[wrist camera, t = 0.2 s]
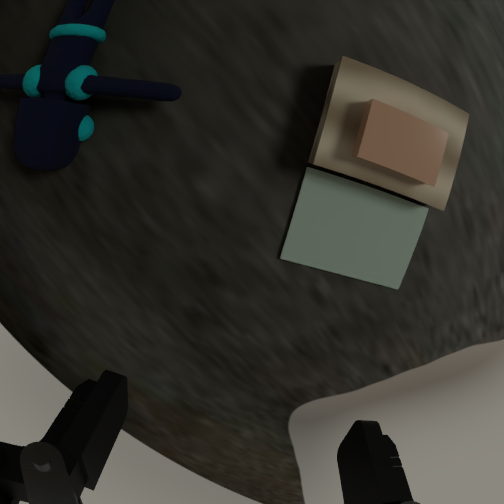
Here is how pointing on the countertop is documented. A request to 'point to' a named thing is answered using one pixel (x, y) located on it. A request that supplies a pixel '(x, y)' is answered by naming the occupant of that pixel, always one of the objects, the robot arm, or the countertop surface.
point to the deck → (396, 95)
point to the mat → (352, 229)
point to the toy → (69, 89)
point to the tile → (400, 142)
